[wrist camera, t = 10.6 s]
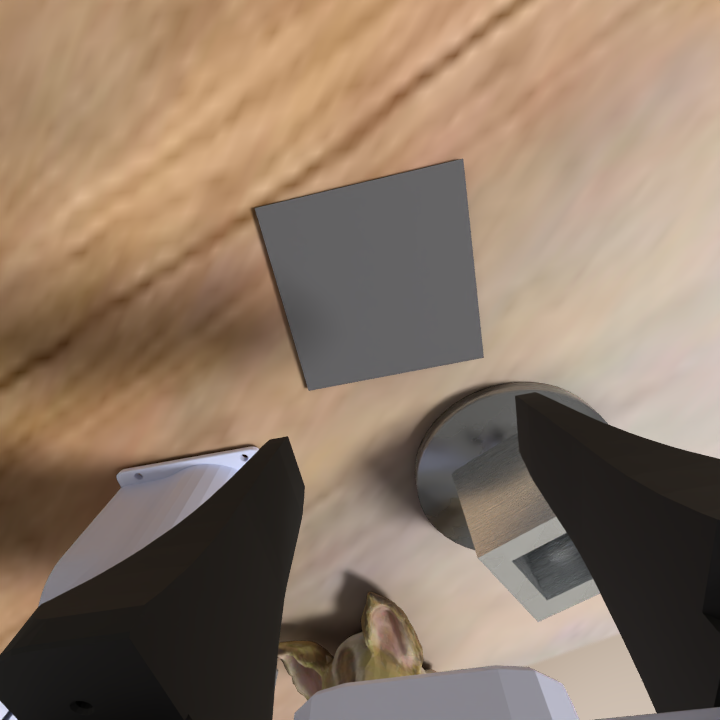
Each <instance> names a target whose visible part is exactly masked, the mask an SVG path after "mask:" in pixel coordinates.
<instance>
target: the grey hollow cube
mask: <svg viewBox="0 0 720 720" xmlns="http://www.w3.org/2000/svg"><path fill="white" fill-rule="evenodd" d="M451 474H452V477H453V481H454V484H455V487H456V490H457V493H458V496H459V500H460V503H461V506H462V509H463V512H464V515H465V519H466V522H467V525H468V528H469V531H470V534H471V538H472V541H473V544H474V547H475V550H476V553H477V557H478V559H479V560H480V561H481V562H482V563H483V564H484V565H485V566H486V567H487V568H488V569H489V570H490V571H491V572H492V574H493V575H494V576H495V577H496V578H497V579H498V580H499V581H500V582H501V583H502V584H503V585H504V586H505V587H506V588H507V589H508V591H509V592H510V593H511V594H512V595H513V596H514V597H515V598H516V599H517V600H518V601H519V602H520V603H521V604H522V605H523V607H524V608H525V609H526V610H527V611H528V612H529V613H530V614H531V615H532V616H533V617H534V618H535V619H536V620H537V621H538V622H539V621H541V620H544V619H546V618H548V617H550V616H552V615H554V614H557V613H559V612H561V611H563V610H565V609H567V608H570V607H572V606H574V605H576V604H578V603H580V602H583V601H585V600H587V599H589V598H591V597H593V596H596V595H598V594H600V591H599V590H598V588H597V586H596V584H595V582H594V580H593V578H592V576H591V574H590V572H589V570H588V568H587V566H586V564H585V562H584V561H583V559H582V557H581V555H580V553H579V552H578V550H577V548H576V547H575V545H574V543H573V542H572V540H571V539H570V537H569V536H568V534H567V532H566V531H565V529H564V528H563V526H562V525H561V523H560V522H559V520H558V519H557V517H556V516H555V514H554V512H553V511H552V509H551V508H550V506H549V505H548V503H547V502H546V500H545V499H544V497H543V495H542V494H541V492H540V491H539V489H538V488H537V486H536V484H535V483H534V481H533V480H532V478H531V476H530V474H529V472H528V470H527V467H526V465H525V463H524V461H523V459H522V457H521V454H520V452H519V444H518V433H516V434H514V435H513V436H511V437H509V438H508V439H506V440H504V441H503V442H501V443H499V444H498V445H496V446H494V447H493V448H491V449H490V450H488V451H486V452H485V453H483V454H481V455H480V456H478V457H476V458H475V459H473V460H471V461H470V462H468V463H466V464H465V465H463V466H462V467H460V468H458V469H457V470H455V471H453V472H452V473H451Z"/></svg>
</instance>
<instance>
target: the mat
mask: <svg viewBox="0 0 720 720" xmlns="http://www.w3.org/2000/svg"><path fill="white" fill-rule="evenodd" d="M255 211H256V214H257V218H258V221H259V224H260V228H261V231H262V235H263V238H264V241H265V245H266V248H267V252H268V255H269V258H270V262H271V265H272V268H273V272H274V275H275V279H276V282H277V285H278V289H279V292H280V296H281V299H282V302H283V306H284V309H285V312H286V316H287V319H288V323H289V326H290V329H291V333H292V336H293V340H294V343H295V346H296V350H297V353H298V356H299V360H300V363H301V367H302V370H303V373H304V377H305V380H306V383H307V387H308V390H309V391H310V390H315V389H321V388H326V387H331V386H336V385H342V384H347V383H352V382H358V381H363V380H368V379H373V378H379V377H384V376H389V375H395V374H400V373H405V372H410V371H416V370H421V369H426V368H432V367H437V366H442V365H447V364H453V363H458V362H463V361H468V360H474V359H479V358H484V356H483V346H482V337H481V327H480V317H479V307H478V298H477V288H476V278H475V269H474V259H473V249H472V240H471V230H470V220H469V211H468V201H467V191H466V181H465V172H464V162H463V159H460V160H456V161H451V162H447V163H443V164H439V165H434V166H430V167H426V168H422V169H418V170H413V171H409V172H405V173H401V174H397V175H392V176H388V177H384V178H380V179H376V180H371V181H367V182H363V183H359V184H355V185H350V186H346V187H342V188H338V189H333V190H329V191H325V192H321V193H317V194H312V195H308V196H304V197H300V198H296V199H291V200H287V201H283V202H279V203H275V204H270V205H266V206H262V207H258V208H255Z"/></svg>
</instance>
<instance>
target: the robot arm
mask: <svg viewBox="0 0 720 720" xmlns="http://www.w3.org/2000/svg"><path fill="white" fill-rule="evenodd" d="M515 403H516V417H517V430H518V444H519V452H520V454H521V457H522V459H523V461H524V463H525V465H526V467H527V470H528V472H529V474H530V476H531V478H532V480H533V481H534V483H535V484H536V486H537V488H538V489H539V491H540V492H541V494H542V495H543V497H544V499H545V500H546V502H547V503H548V505H549V506H550V508H551V509H552V511H553V512H554V514H555V516H556V517H557V519H558V520H559V522H560V523H561V525H562V526H563V528H564V529H565V531H566V532H567V534H568V536H569V537H570V539H571V540H572V542H573V543H574V545H575V547H576V548H577V550H578V552H579V553H580V555H581V557H582V559H583V561H584V562H585V564H586V566H587V568H588V570H589V572H590V574H591V576H592V578H593V580H594V582H595V584H596V586H597V588H598V590H599V591H600V593H601V595H602V598H603V600H604V602H605V604H606V606H607V608H608V610H609V612H610V614H611V616H612V618H613V620H614V622H615V624H616V626H617V628H618V630H619V632H620V634H621V636H622V638H623V640H624V642H625V645H626V647H627V649H628V651H629V653H630V655H631V657H632V660H633V662H634V664H635V666H636V668H637V670H638V672H639V674H640V677H641V679H642V681H643V683H644V685H645V688H646V690H647V692H648V694H649V697H650V699H651V701H652V703H653V706H654V708H655V710H656V712H657V714H646V715H636V716H626V717H616V718H606V719H596V720H720V459H717V458H713V457H709V456H705V455H701V454H697V453H693V452H689V451H685V450H682V449H678V448H674V447H671V446H668V445H665V444H661V443H658V442H655V441H652V440H649V439H646V438H643V437H640V436H637V435H634V434H631V433H629V432H626V431H623V430H621V429H618V428H616V427H613V426H611V425H608V424H606V423H603V422H601V421H599V420H596V419H594V418H592V417H589V416H587V415H585V414H583V413H580V412H578V411H576V410H574V409H572V408H570V407H567V406H565V405H563V404H561V403H559V402H557V401H555V400H553V399H550V398H548V397H546V396H544V395H542V394H539V393H537V392H533V393H528V394H522V395H516V396H515ZM242 454H245V455H247V456H248V457H247V458H246V457H243V456H242ZM138 473H140V474H141V475H142V476H141V475H139V474H138ZM116 478H117V481H118V482H119V484H120V486H121V488H120V490H119V491H118V492H117V493H116V494H115V495H114V497H113V498H112V499H111V500H110V501H109V502H108V504H107V505H106V506H105V507H104V508H103V509H102V510H101V512H100V513H99V514H98V515H97V516H96V517H95V519H94V520H93V521H92V522H91V523H90V524H89V526H88V527H87V528H86V529H85V530H84V531H83V533H82V534H81V535H80V536H79V537H78V538H77V540H76V541H75V542H74V543H73V544H72V545H71V547H70V548H69V549H68V550H67V551H66V552H65V554H64V555H63V556H62V557H61V558H60V560H59V561H58V562H57V564H56V565H55V566H54V568H53V570H52V572H51V573H50V575H49V577H48V579H47V582H46V584H45V586H44V589H43V592H42V595H41V598H40V602H39V606H38V608H37V609H36V611H35V612H34V613H33V614H32V616H31V617H30V618H29V619H28V621H27V622H26V623H25V624H24V626H23V627H22V628H21V629H20V631H19V632H18V633H17V634H16V636H15V637H14V638H13V640H12V641H11V642H10V643H9V645H8V646H7V647H6V648H5V650H4V651H3V652H2V653H1V655H0V720H272V715H273V703H274V691H275V678H276V667H277V658H278V648H279V638H280V629H281V621H282V613H283V605H284V598H285V592H286V587H287V582H288V577H289V573H290V569H291V564H292V560H293V556H294V551H295V547H296V542H297V538H298V533H299V529H300V524H301V520H302V514H303V504H304V490H305V486H304V483H303V480H302V477H301V474H300V471H299V468H298V465H297V462H296V459H295V456H294V453H293V450H292V447H291V444H290V441H289V438H288V437H282V438H276V439H271V440H269V441H268V442H267V443H265V444H264V445H263V446H262V447H261V448H260V449H258V448H257V447H245V448H240V449H234V450H229V451H223V452H217V453H212V454H206V455H201V456H195V457H189V458H184V459H178V460H172V461H167V462H161V463H156V464H150V465H144V466H139V467H133V468H128V469H123V470H121V471H120V472H119V473H118V474H117V476H116ZM294 720H579V717H578V715H577V713H576V710H575V708H574V705H573V703H572V701H571V699H570V697H569V695H568V693H567V691H566V689H565V687H564V686H563V684H562V683H560V682H559V681H557V680H555V679H553V678H551V677H549V676H547V675H544V674H542V673H540V672H538V671H536V670H534V669H532V668H530V667H517V666H487V667H479V668H470V669H461V670H453V671H444V672H436V673H427V674H418V675H410V676H401V677H393V678H384V679H375V680H367V681H358V682H350V683H344V684H340V685H337V686H334V687H330V688H327V689H324V690H320V691H317V692H316V693H315V694H314V695H313V696H312V697H311V698H310V699H309V700H308V701H307V702H306V703H305V704H304V705H303V706H302V707H301V708H300V709H298V710H297V711H296V712H295V715H294Z"/></svg>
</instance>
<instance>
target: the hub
mask: <svg viewBox="0 0 720 720" xmlns="http://www.w3.org/2000/svg"><path fill="white" fill-rule="evenodd" d="M533 392H537V393H539V394H542V395H544V396H546V397H548V398H550V399H553V400H555V401H557V402H559V403H561V404H563V405H565V406H567V407H570V408H572V409H574V410H576V411H578V412H580V413H583V414H585V415H587V416H589V417H592V418H594V419H596V420H599V421H601V422H603V423H606V424H608V423H607V422H606V421H605V420H604V419H603V418H602V417H601V416H600V415H599V414H598V413H597V412H596V411H595V410H594V409H593V408H592V407H590V406H589V405H588V404H587V403H586V402H584V401H583V400H582V399H581V398H579V397H578V396H576V395H574V394H572V393H571V392H569V391H566V390H564V389H561V388H559V387H556V386H552V385H548V384H543V383H534V382H515V383H507V384H501V385H497V386H492V387H489V388H486V389H483V390H480V391H478V392H475V393H473V394H471V395H469V396H467V397H465V398H463V399H462V400H460V401H459V402H457V403H455V404H454V405H452V406H451V407H450V408H449V409H448V410H446V411H445V412H444V413H443V414H442V415H441V416H440V417H439V418H438V419H437V420H436V421H435V422H434V423H433V425H432V426H431V427H430V429H429V430H428V432H427V433H426V435H425V437H424V439H423V440H422V442H421V445H420V448H419V450H418V453H417V458H416V463H415V478H416V486H417V491H418V497H419V500H420V503H421V507H422V509H423V511H424V513H425V515H426V516H427V518H428V519H429V521H430V522H431V523H432V525H433V526H434V527H435V528H436V529H437V530H438V531H439V532H441V533H442V534H443V535H444V536H446V537H447V538H449V539H450V540H452V541H454V542H455V543H457V544H460V545H462V546H464V547H467V548H470V549H473V550H475V547H474V544H473V541H472V538H471V534H470V531H469V528H468V525H467V522H466V519H465V515H464V512H463V509H462V506H461V503H460V500H459V496H458V493H457V490H456V487H455V484H454V481H453V477H452V474H451V473H452V472H453V471H455V470H457V469H458V468H460V467H462V466H463V465H465V464H466V463H468V462H470V461H471V460H473V459H475V458H476V457H478V456H480V455H481V454H483V453H485V452H486V451H488V450H490V449H491V448H493V447H494V446H496V445H498V444H499V443H501V442H503V441H504V440H506V439H508V438H509V437H511V436H513V435H514V434H516V433H518V430H517V417H516V403H515V396H516V395H522V394H528V393H533Z"/></svg>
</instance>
